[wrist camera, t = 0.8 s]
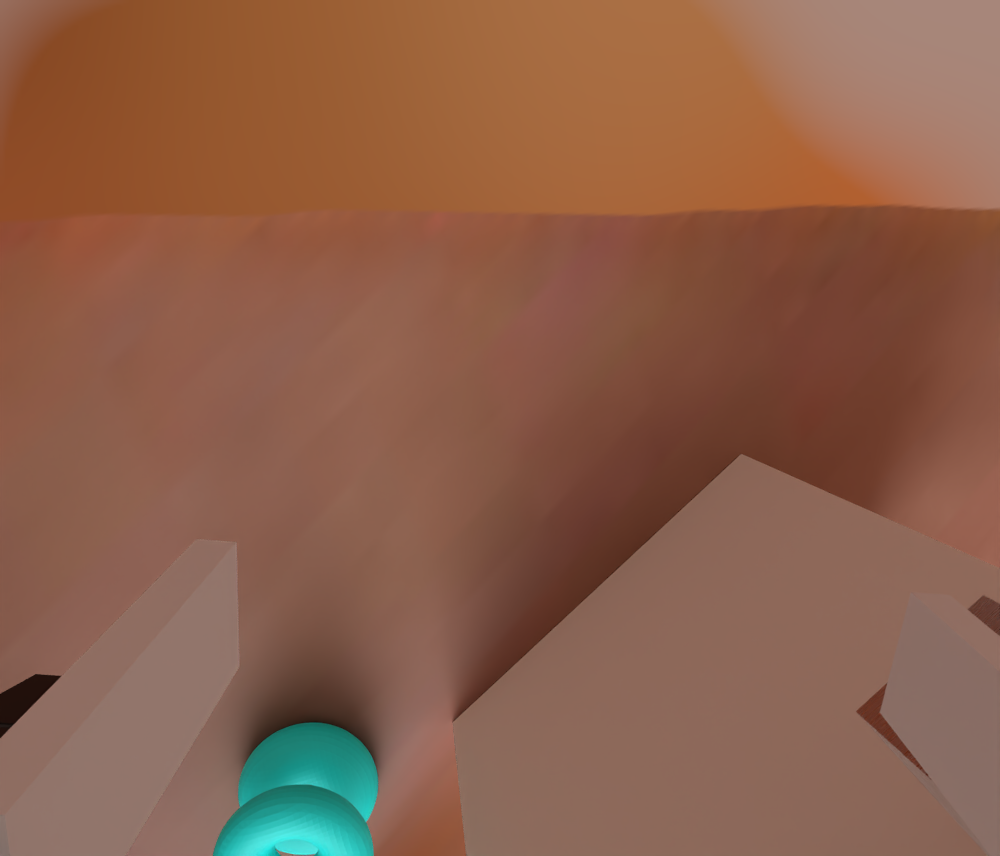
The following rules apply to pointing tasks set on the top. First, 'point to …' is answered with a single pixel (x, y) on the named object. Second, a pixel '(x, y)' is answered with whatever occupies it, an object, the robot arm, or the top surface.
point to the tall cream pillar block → (720, 692)
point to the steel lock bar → (996, 619)
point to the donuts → (304, 796)
